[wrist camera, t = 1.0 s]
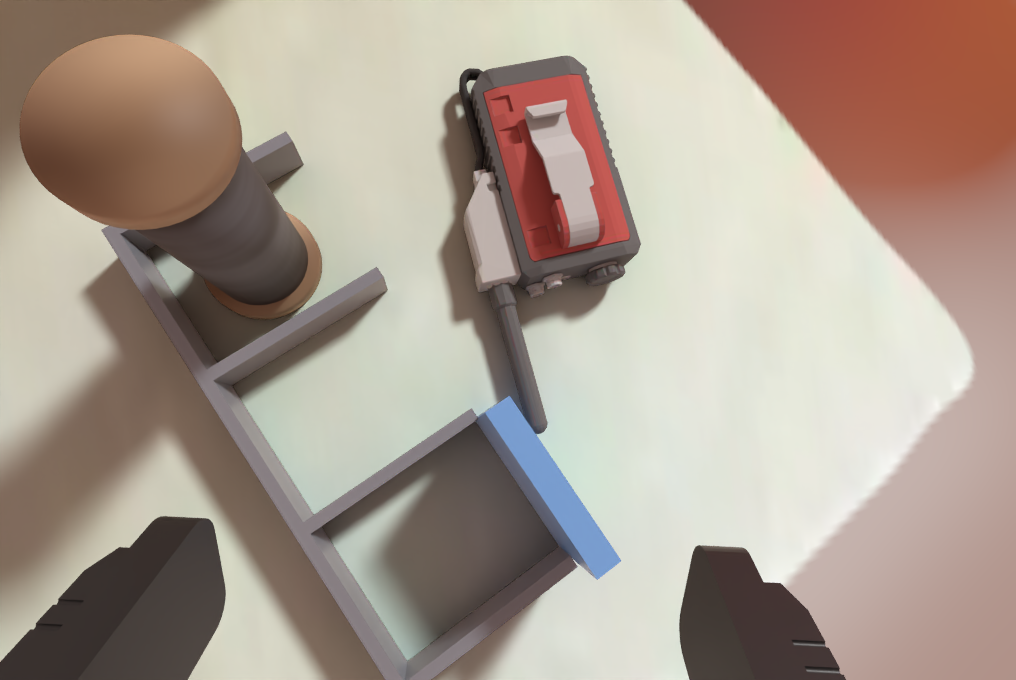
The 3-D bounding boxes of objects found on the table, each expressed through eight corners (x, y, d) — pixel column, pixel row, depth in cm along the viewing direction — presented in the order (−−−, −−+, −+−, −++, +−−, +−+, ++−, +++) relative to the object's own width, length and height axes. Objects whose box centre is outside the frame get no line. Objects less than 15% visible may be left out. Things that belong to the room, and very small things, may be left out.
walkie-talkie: (423, 93, 34) (515, 439, 31) (421, 42, 29) (528, 439, 27) (569, 67, 35) (670, 396, 32) (588, 14, 31) (706, 389, 28)
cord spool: (187, 249, 30) (-20, 90, 17) (285, 195, 31) (167, 3, 18) (245, 340, 30) (83, 254, 16) (342, 282, 31) (268, 154, 17)
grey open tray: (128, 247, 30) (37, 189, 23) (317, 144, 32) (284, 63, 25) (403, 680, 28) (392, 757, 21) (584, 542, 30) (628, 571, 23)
